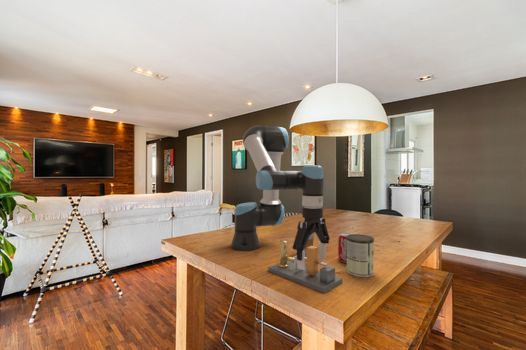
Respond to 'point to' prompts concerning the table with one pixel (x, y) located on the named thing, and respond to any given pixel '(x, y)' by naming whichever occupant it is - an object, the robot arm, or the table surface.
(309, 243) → the coffee cup
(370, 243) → the coffee can
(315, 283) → the board
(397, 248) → the table surface
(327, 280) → the block
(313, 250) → the wooden handled lever
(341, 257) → the soda can
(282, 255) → the brass round knobbed piece
